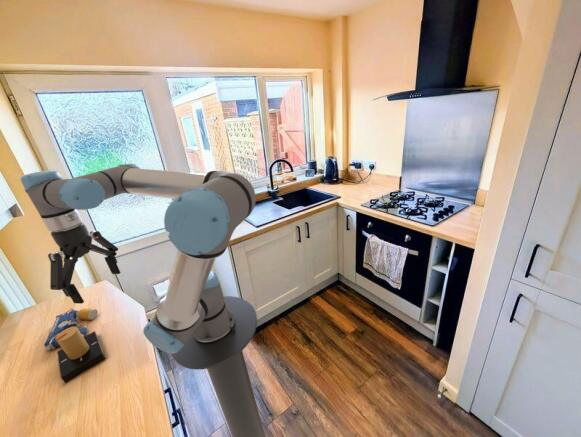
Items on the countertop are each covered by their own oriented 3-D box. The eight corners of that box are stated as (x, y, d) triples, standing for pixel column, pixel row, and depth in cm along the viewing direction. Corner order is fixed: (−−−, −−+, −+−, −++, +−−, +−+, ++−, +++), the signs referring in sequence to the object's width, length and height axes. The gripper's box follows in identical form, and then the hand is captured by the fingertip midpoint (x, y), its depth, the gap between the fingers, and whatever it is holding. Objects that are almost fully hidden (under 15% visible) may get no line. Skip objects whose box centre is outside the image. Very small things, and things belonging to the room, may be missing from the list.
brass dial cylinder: (84, 342, 88) (72, 323, 84) (92, 348, 85) (80, 329, 81) (66, 355, 83) (52, 336, 79) (73, 362, 81) (59, 342, 77)
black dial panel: (106, 358, 84) (102, 352, 83) (65, 383, 77) (60, 377, 76) (98, 336, 93) (94, 330, 92) (61, 357, 87) (57, 351, 85)
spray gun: (102, 304, 110) (61, 319, 104) (97, 297, 108) (55, 311, 103) (93, 338, 93) (43, 358, 88) (88, 331, 91) (37, 350, 86)
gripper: (27, 250, 57) (71, 318, 65) (114, 208, 79) (137, 263, 88) (3, 250, 58) (48, 317, 67) (94, 209, 80) (120, 263, 89)
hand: (99, 286), depth 77 cm, fingers open, 13 cm apart
